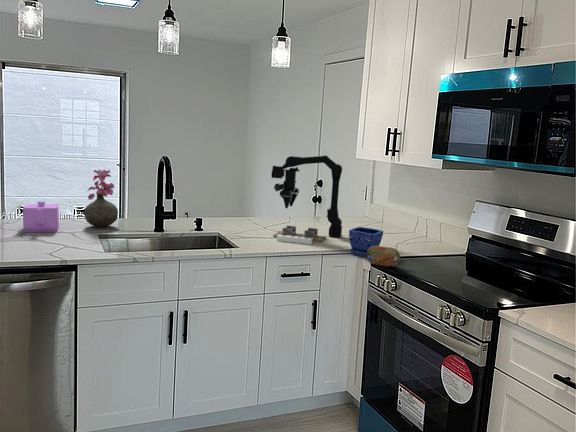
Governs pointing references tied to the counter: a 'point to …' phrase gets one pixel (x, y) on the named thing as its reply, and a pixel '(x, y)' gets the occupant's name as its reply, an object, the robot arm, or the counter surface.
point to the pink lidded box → (41, 217)
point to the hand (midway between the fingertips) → (288, 207)
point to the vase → (101, 203)
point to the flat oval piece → (383, 256)
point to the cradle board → (308, 234)
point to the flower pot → (364, 239)
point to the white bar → (294, 239)
